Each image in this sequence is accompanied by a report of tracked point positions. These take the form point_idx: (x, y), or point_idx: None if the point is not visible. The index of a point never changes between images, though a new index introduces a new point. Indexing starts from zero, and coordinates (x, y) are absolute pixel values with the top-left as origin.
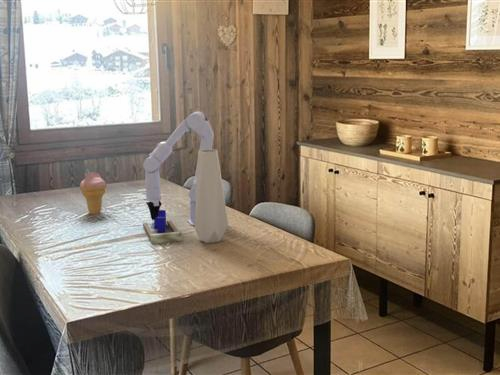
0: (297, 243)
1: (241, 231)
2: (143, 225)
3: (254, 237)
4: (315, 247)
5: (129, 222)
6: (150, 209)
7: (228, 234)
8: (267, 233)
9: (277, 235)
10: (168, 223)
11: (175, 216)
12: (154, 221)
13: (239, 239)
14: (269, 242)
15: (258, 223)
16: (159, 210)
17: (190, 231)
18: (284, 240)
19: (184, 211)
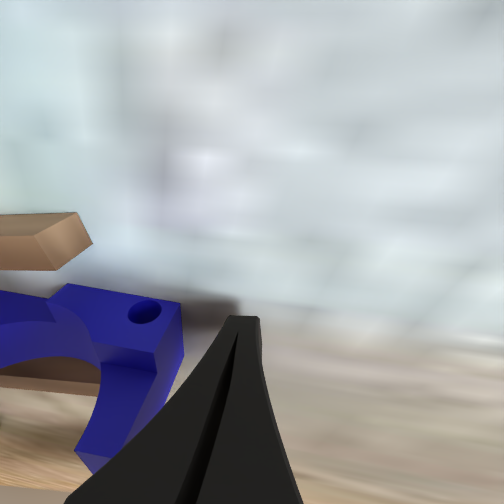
0: (17, 481)
1: (85, 466)
2: (23, 226)
3: (36, 464)
4: (3, 484)
5: (329, 50)
6: (146, 431)
7: (47, 446)
8: (77, 482)
9: (64, 484)
10: (89, 376)
11: (348, 417)
12: (87, 327)
13: (7, 446)
14: (6, 465)
15: None
16: (104, 462)
17: (55, 396)
18: (31, 479)
19: (436, 460)
